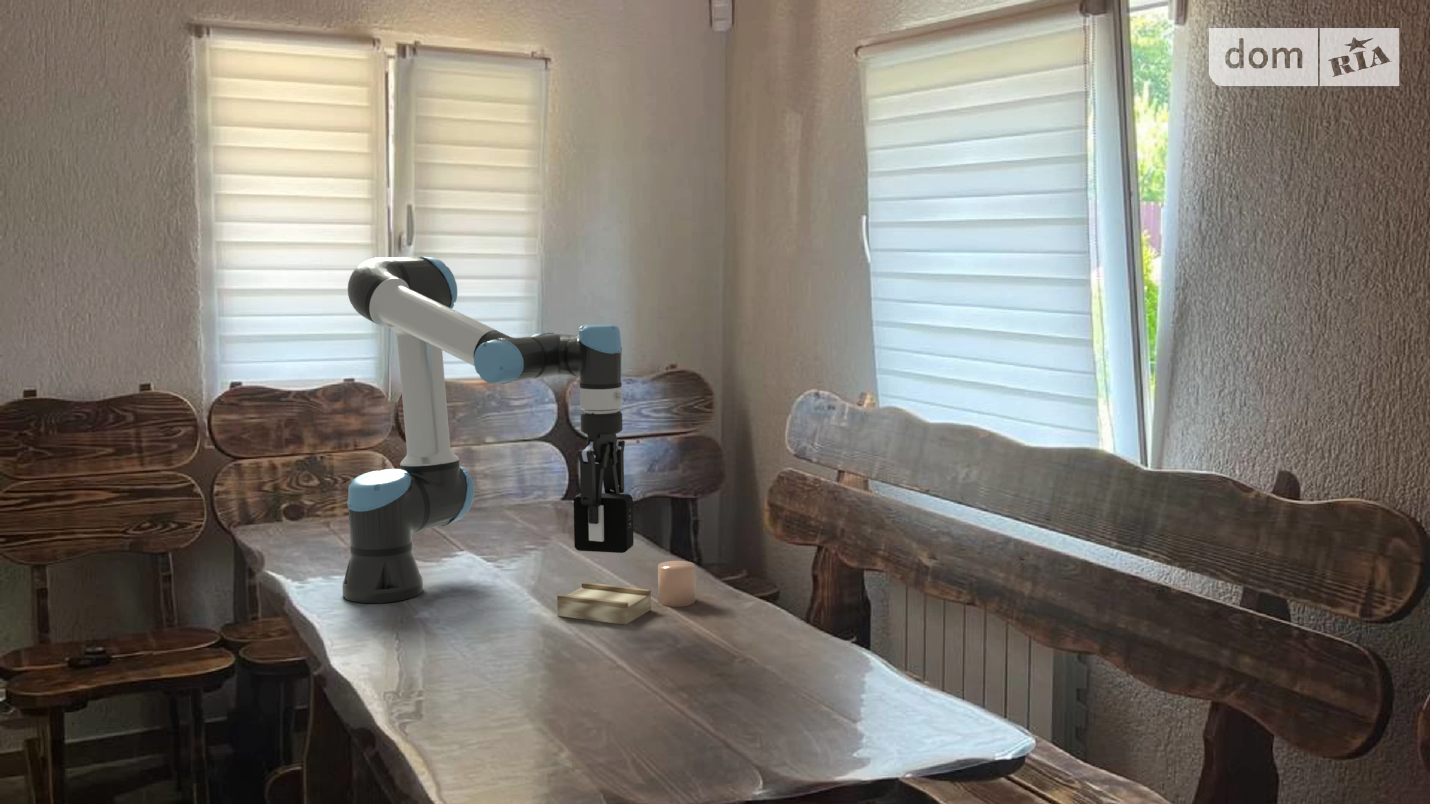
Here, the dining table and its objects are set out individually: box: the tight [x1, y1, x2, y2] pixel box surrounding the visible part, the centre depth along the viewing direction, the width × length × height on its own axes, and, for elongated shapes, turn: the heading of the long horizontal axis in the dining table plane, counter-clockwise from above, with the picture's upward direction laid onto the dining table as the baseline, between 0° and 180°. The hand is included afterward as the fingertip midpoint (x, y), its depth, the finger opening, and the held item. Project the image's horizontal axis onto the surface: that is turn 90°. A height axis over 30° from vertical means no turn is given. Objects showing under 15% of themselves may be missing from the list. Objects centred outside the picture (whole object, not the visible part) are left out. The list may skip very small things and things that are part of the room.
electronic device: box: [573, 492, 635, 554], centre depth 237 cm, size 4×10×10 cm, turn 77°
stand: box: [556, 581, 652, 626], centre depth 240 cm, size 14×10×4 cm
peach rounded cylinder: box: [657, 560, 696, 608], centre depth 247 cm, size 7×7×7 cm
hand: (603, 537), depth 238 cm, fingers closed on electronic device, 5 cm apart
